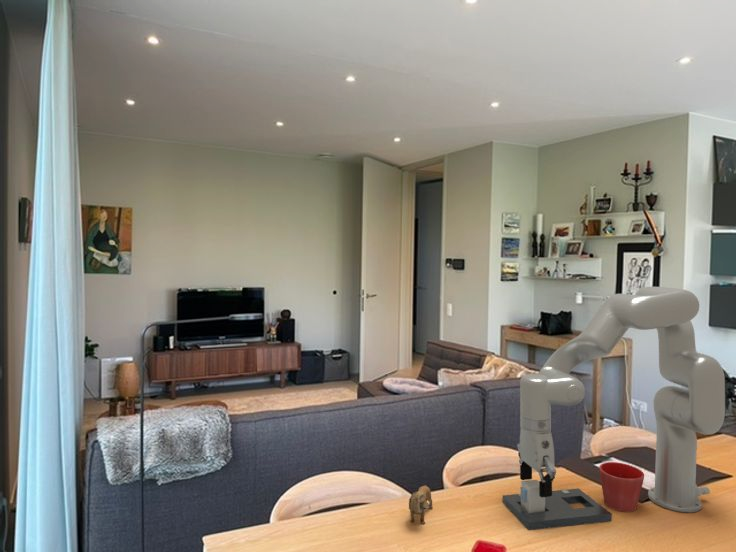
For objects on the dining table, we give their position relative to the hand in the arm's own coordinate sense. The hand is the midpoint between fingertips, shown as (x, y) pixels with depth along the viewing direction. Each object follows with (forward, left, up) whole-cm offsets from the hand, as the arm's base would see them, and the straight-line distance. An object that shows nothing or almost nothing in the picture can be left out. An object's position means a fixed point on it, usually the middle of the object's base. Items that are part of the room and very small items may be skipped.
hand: (535, 487), depth 131 cm
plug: (+1, 0, -7) cm, 7 cm away
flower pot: (-25, 0, -7) cm, 26 cm away
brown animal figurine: (+30, -3, -7) cm, 31 cm away
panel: (-6, 0, -7) cm, 9 cm away
